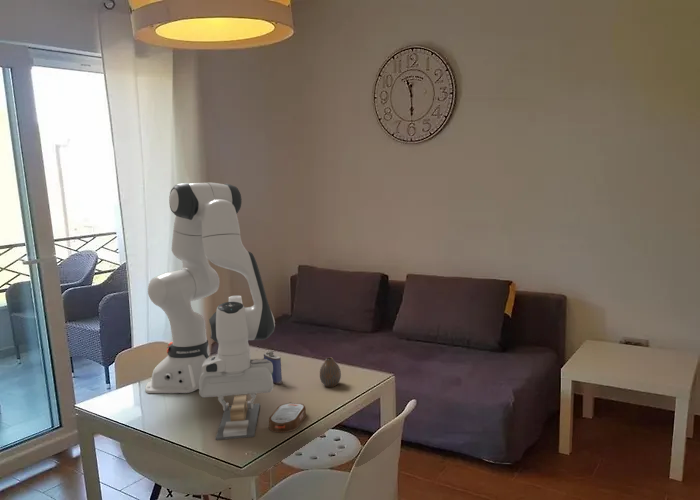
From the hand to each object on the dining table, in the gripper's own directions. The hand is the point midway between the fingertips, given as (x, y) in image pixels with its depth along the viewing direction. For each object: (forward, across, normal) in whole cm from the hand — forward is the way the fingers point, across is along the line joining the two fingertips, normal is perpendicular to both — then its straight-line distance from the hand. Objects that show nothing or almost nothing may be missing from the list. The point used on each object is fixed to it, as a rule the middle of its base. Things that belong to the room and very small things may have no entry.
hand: (238, 409), depth 165 cm
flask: (+4, -8, -32) cm, 33 cm away
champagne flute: (+4, +6, -61) cm, 61 cm away
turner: (+3, 0, +2) cm, 3 cm away
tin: (+2, -10, +2) cm, 10 cm away
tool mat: (+4, 0, 0) cm, 4 cm away
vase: (+4, -27, -24) cm, 36 cm away
